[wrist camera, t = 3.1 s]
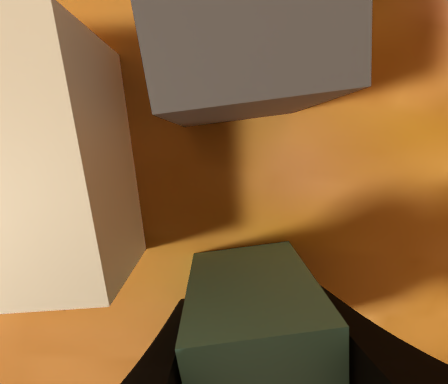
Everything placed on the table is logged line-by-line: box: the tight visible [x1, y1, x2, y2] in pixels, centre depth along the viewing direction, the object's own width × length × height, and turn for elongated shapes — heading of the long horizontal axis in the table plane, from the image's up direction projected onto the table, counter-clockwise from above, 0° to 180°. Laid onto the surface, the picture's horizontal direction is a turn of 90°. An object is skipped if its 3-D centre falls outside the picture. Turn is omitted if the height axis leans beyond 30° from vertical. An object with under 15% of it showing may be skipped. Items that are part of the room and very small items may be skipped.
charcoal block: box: [131, 0, 372, 127], centre depth 7 cm, size 4×4×5 cm
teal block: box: [175, 241, 349, 384], centre depth 9 cm, size 4×4×5 cm
